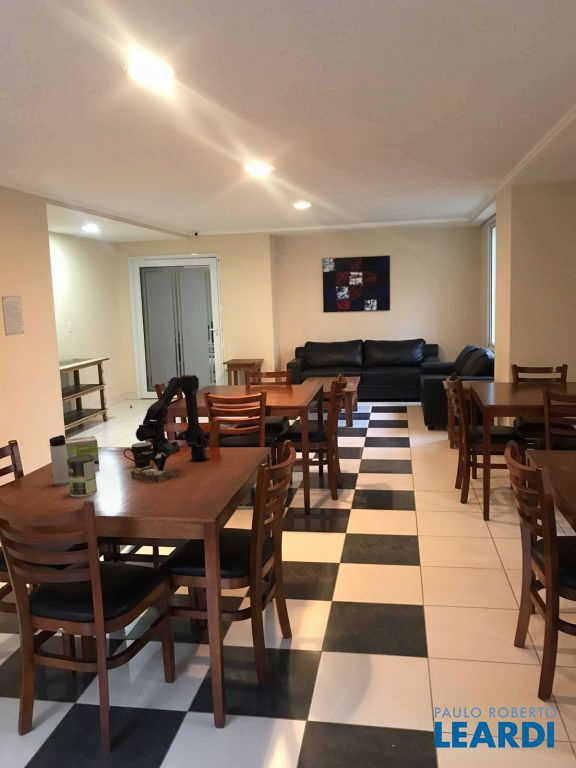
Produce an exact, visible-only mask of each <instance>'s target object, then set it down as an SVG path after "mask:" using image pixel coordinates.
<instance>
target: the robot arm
mask: <svg viewBox="0 0 576 768" xmlns="http://www.w3.org/2000/svg"><path fill="white" fill-rule="evenodd" d="M199 381H200V380H199V378H198V376H197V375H195V374H194V375H192V374H190V375H189V374H187V375H186V374H184V375H182V376H181V377H179V376H178V377H176V376H174V377H171V378H170V379H169V383H168V384H167V386H166V387H165V389H164V390H163V392H162V394H161V395H160V397H159V398H158V399H157V401H155V402H153V403H151V404H150V406H149V407H148V408H147V410H146V414H145V416H144V419H143V421H142V424H139V425H138V428H137V429H136V431H135V437H136V439H137V440H138V441H139V442H140V443H141V442H145V441H148V440H149V443H151V449H150V450H151V452H143V453H140V454H139V460H142V461H150V462H151V461H152V462H153V463H154V465H155V466H156V468H157V470H160V471H164V469H165V464H166V462H167V459H168V458H170V457H171V456H172V455H176V454H177V453H179V452H181V448H180V446H179V442H178V441H177V440H176V441H172V442H169V439H168V437H166V431H165V430H166V429H165V425H168V424H169V423H168V422H167V420H165V419H166V417H167V415H168V413H169V406H170V404H171V403H172V401H173V399H174V397H175V395H176V394H177V393H178V391H179V390H180V391H181V392H182V393H183V394H184V399H185V400H184V401H185V409H186V410H185V411H186V418H187V427H186V430H184V431H183V434H184V440H185V443H186V444H187V447H188V448H190V450H191V451H190V455H191V456H190V457H191V458H190V459H189V461H192V462H199V463H201V462H204V461H205V460H208V459H210V458H209V457H207V448H208V447H209V445H210V441H209V439H208V438H206V436H205V434H204V430H203V428H202V427H201V426H200V421H199V410H198V401H197V393H198V390H199V388H200V385H199V384H200V382H199Z"/></svg>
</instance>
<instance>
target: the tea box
mask: <svg viewBox="0 0 576 768" xmlns="http://www.w3.org/2000/svg"><path fill="white" fill-rule="evenodd" d="M65 442H66V450H67V459H68V458H70V457H74V456H79V455H93V456H94V463H95V473H97V472H96V471H99V472H100V459H99V447H98V446H99V445H98V439H97V438H96V436H94V435H91V436H84V437H83V436H82V437H75V438H67V439H66V438H65Z"/></svg>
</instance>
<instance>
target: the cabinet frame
mask: <svg viewBox="0 0 576 768" xmlns="http://www.w3.org/2000/svg"><path fill="white" fill-rule="evenodd" d="M150 469H154V465H152V464H150V466H147V467H144V468H135V469H134V470H131V471H130V475H131V479H132V478H134V479H133V480H137V479H139V480H138V481H143V480H144V481H143V482H148V481H152V482H151V483H154V482H159V481H161V482H163V481H162V480H164V479H167V478H170V479H172V478H171V477H173V478H175V477H177V475H178V473H177V468H173V469H169V470H166V472H163V473H160V474H157V475H155V474H154V471H152V470H150ZM144 470H146V473H143V472H142V471H144ZM147 470H149V471H147ZM174 476H175V477H174ZM167 480H168V479H167ZM164 481H165V480H164ZM159 483H160V482H159Z"/></svg>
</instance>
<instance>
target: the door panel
mask: <svg viewBox="0 0 576 768" xmlns="http://www.w3.org/2000/svg"><path fill="white" fill-rule="evenodd" d="M150 470H152V471H154V474H155V475H157V474H160V473H163V472H166V471H167V470H166V471H165V470H163V471H160V470H158V469H154V468H153V469H150ZM147 471H149V470H147ZM142 472H143V473H146V470H144V471H142Z"/></svg>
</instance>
